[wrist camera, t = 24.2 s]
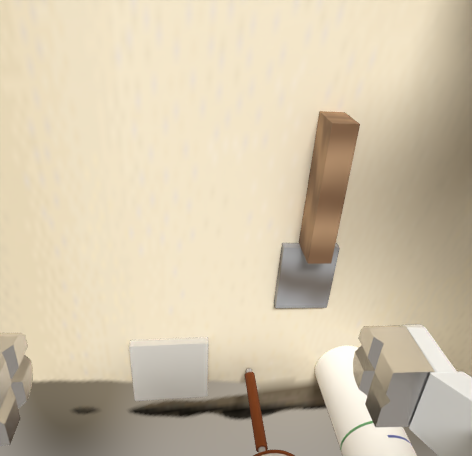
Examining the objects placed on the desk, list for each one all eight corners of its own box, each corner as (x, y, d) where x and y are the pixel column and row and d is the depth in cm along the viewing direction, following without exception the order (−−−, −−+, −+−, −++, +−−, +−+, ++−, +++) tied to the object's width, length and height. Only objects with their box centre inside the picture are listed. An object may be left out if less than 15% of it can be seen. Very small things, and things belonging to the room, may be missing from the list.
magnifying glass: (219, 384, 56) (235, 565, 38) (214, 376, 55) (227, 557, 38) (282, 361, 55) (328, 536, 38) (278, 352, 54) (322, 526, 37)
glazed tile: (208, 343, 51) (207, 396, 55) (207, 333, 52) (206, 386, 57) (129, 346, 50) (134, 401, 54) (130, 336, 51) (135, 390, 56)
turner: (300, 110, 40) (311, 122, 36) (363, 113, 41) (380, 125, 37) (273, 302, 50) (280, 326, 47) (324, 302, 51) (334, 325, 48)
